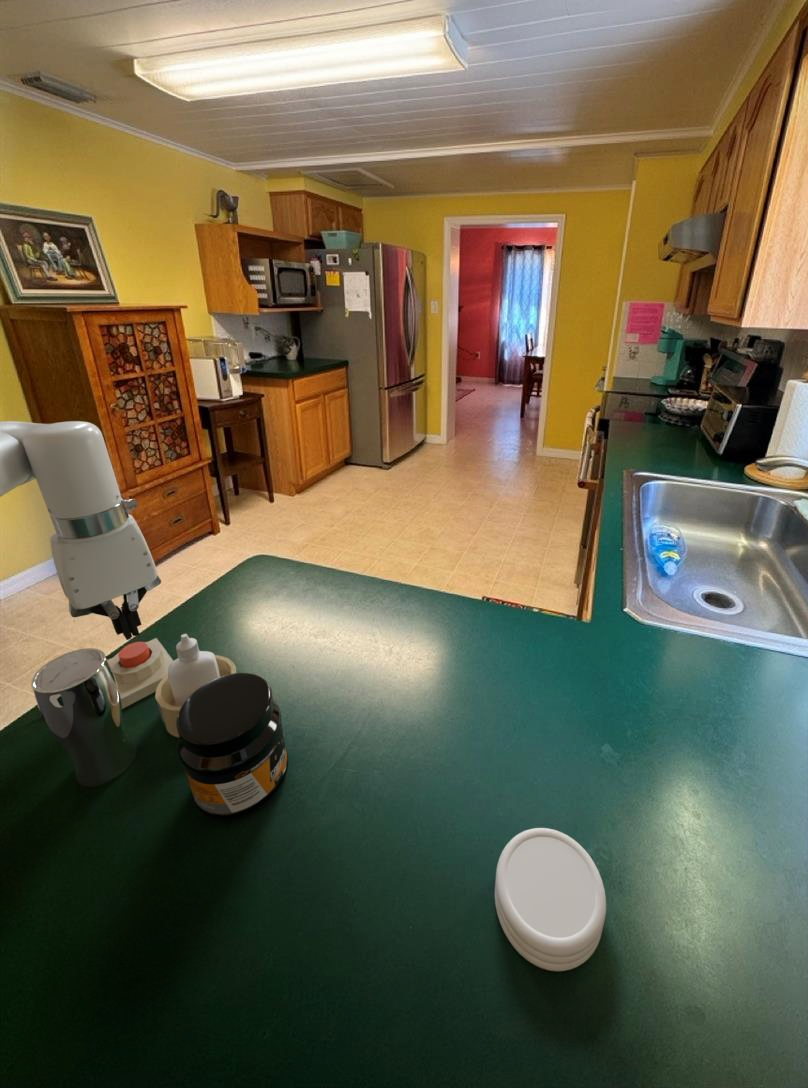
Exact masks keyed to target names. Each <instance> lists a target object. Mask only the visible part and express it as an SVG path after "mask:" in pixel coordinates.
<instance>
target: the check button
mask: <svg viewBox="0 0 808 1088" xmlns="http://www.w3.org/2000/svg"><path fill="white" fill-rule="evenodd" d="M145 642H146V641H135V642H132V643H129V644H127V645H125V646H124V647H122V648H121V649H120V650H119V652H118V653H119V659H120V662H121V665H122V666H123V667H125V668H130V667H136V666H138V665H140V664H142V663H144V662H145V661H147V660H148V659H149V657H150V652H149V649H148V645H147V644H146V643H145Z"/></svg>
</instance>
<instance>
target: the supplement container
mask: <svg viewBox="0 0 808 1088" xmlns="http://www.w3.org/2000/svg"><path fill="white" fill-rule="evenodd" d="M281 712H282V711H281V708H280V706H279V704H278V702H277V701H276V700H275V698H274V695H273V690H272V686H271V685H270V683H269V682H268V681H267V680H266V679H265V678H263V677H262V676H260V675H258V674H254V673H250V672H237V673H234V674H229V675H225V676H221V677H219V678H216V679H214V680H212V681H210V682H208V683H206V684H204V685H203V686H201V687H200V688H198V689H197V690H196V691H195V692H194V693H192V694H191V695H190V696H189V697H188V699H187V700H186V701H185V702H184V704H183V705H182V707H181V708H180V710H179V713H178V716H177V720H176V725H177V730H178V734H179V737H178V740H177V755H178V757H179V761H180V762H181V764H182V765H183V769H184V772H185V775H186V778H187V780H188V786H189V788H190V791H191V792H190V793H191V798H192V802H193V803H194V805H195V807H196V809H197V810H198V811H199V812H200V813H201V814H202V815H204V816H205V817H207V818H210V819H212V820H217V821H232V820H236V819H241V818H244V817H246V816H248V815H250V814H253V813H254V812H256V811H257V810H259V809H261V808H262V807H263V806H265V805H266V804H267V803H268V802H269V801H270V800H271V799H272V798H273V797H274V796H275V795H276V794H277V792H278V791H279V790H280V788H281V786H282V785H283V783H284V781H285V779H286V776H287V772H288V768H289V754H288V750H287V747H286V742H285V741H286V740H285V736H284V731H283V725H282V713H281Z"/></svg>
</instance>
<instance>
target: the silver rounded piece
mask: <svg viewBox="0 0 808 1088" xmlns="http://www.w3.org/2000/svg"><path fill="white" fill-rule="evenodd" d="M106 656H107V655H106V654H105V652H104V651H103V650H101V649H98V648H94V647H93V648H92V647H91V648H89V647H87V648H86V647H85V648H80V649H75V650H72V651H68V652H66V653H63V654H61V655H59V656H57V657H55V658H53V659H51V660H49V661H48V662H47V663H45V664H44V665H43V666H42V667H40V668H39V669H38V670H37V671H36V673H34V675H33V676H32V678H31V681H30V686H31V688H32V690H33V691H32V692H33V694H34V697H35V698H34V699H35V701H36V704H37V708H38V710H39V713H40V715H41V718H42V719H43V722H44V724H45V725H46V727H47V728H48V730H49V731H50V733H51V734H52V735H53V737H55V739H56V740H57V741H58V742H59V743H60V745H62V747H63V748H64V749H65V750H66V751H67V752H68V754H69V755H70V758H71V759H72V762H73V765H74V771H75V772H74V774H75V780H76V782H77V783H78V784H79V785H80V786H81V787H86V788H96V787H99V786H103V785H106V784H108V783H110V782H112V781H113V780H115V779H117V778H118V777H120V776H121V775H122V774H123V773H124V772H125V771H126V770H128V768H130V766H131V765H132V764H133V762H134V760H135V758H136V754H137V747H136V745H135V744H134V742H133V741H132V740H131V738H130V737H129V736H128V734H127V733H126V730H125V726H124V718H123V709H122V703H121V696H120V690H119V687H118V683H117V680H116V678H115V675H114V673H113V671H112V669H111V667H110V665H109V663H108V661H107V660H108V659H107V657H106Z"/></svg>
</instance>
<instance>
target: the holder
mask: <svg viewBox="0 0 808 1088" xmlns="http://www.w3.org/2000/svg"><path fill="white" fill-rule="evenodd" d="M214 655H215V658H216V662H217V666H218V670H219V674H220V677H221V676H225V675H229V674H234V673H238V671H237V666H236V664H235V663H234V661H232V660H231V659H230V658H228V657H226V656H222V655H219V654H218V655H217V654H214ZM154 698H155V702H156V705H157V709H158V712H159V714H160V715H159V716H160V717H161V721H162V724H163V726H164V728H165V730H166V731H167V732H168V733H169V734H170V735H171V736H172V737H176V738H179V734H178V730H177V725H176V720H177V716H178V713H179V710H180V708H181V707H182V706H177V705H176V702H175V699H174V695H173V692H172V688H171V685H170V681H169V677H168V674H166V675H165V676H164V677H163V679H162V680H161V682H160V683H159V685H158V686H157V688H156V692H155V695H154Z"/></svg>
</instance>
